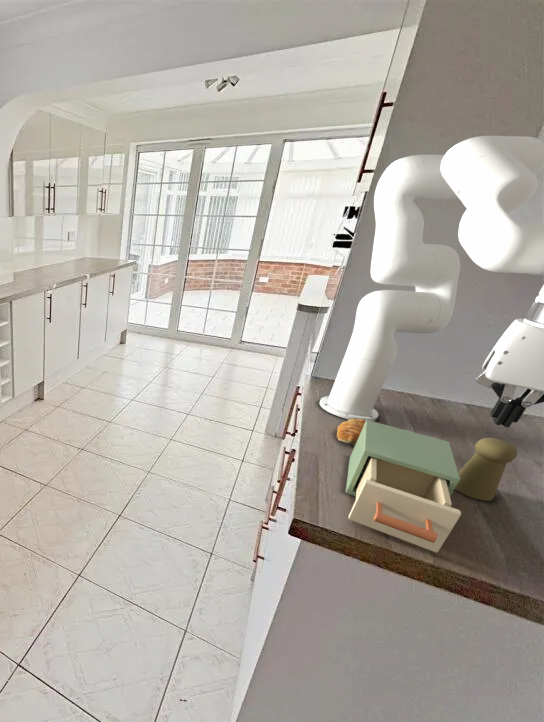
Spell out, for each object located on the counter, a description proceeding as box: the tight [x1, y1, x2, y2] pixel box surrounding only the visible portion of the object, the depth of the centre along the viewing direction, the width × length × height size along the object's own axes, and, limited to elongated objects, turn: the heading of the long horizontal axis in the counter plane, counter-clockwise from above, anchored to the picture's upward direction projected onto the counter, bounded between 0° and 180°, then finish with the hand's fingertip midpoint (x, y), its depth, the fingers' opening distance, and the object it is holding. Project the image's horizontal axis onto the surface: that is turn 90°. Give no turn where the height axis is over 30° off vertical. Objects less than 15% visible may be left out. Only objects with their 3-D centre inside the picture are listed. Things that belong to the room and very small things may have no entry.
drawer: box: [348, 456, 462, 554], centre depth 68 cm, size 18×11×8 cm, turn 142°
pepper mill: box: [454, 437, 518, 502], centre depth 77 cm, size 6×6×11 cm
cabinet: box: [345, 420, 460, 497], centre depth 77 cm, size 15×13×10 cm
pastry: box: [336, 419, 366, 447], centre depth 94 cm, size 9×7×4 cm
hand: (500, 422), depth 69 cm, fingers closed
